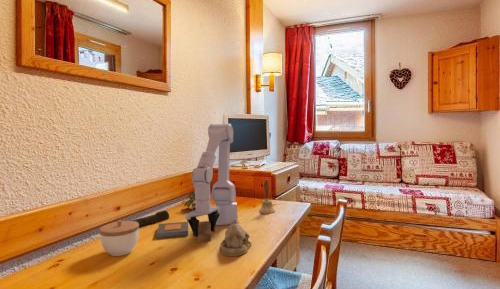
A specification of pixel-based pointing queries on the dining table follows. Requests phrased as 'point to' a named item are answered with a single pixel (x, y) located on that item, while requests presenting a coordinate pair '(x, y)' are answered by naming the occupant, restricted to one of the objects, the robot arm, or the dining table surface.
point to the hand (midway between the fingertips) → (203, 233)
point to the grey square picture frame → (172, 230)
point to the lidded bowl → (119, 237)
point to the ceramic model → (235, 240)
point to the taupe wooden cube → (204, 231)
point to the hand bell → (267, 201)
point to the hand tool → (153, 218)
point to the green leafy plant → (190, 201)
